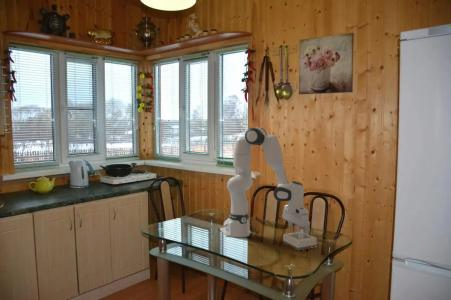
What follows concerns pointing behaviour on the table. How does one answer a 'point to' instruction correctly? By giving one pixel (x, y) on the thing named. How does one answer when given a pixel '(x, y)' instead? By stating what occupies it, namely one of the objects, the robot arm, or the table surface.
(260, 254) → the table surface
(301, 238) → the keeper plate
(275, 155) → the robot arm
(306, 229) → the small box
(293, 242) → the link
